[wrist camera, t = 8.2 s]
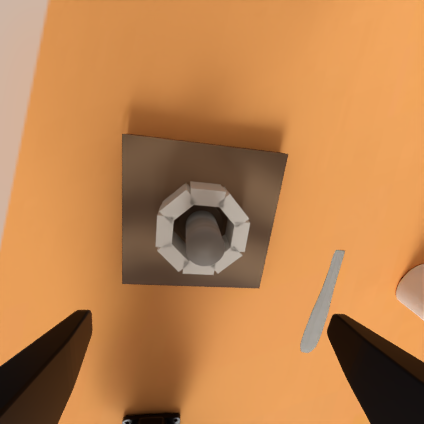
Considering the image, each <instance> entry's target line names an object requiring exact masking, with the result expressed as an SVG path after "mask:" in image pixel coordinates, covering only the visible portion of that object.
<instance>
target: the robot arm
mask: <svg viewBox="0 0 424 424" xmlns="http://www.w3.org/2000/svg"><path fill="white" fill-rule="evenodd" d="M91 335H92V313H91V311H90V310H77V311H75V312H74V313H72V314H71V315H70V316H68V317H67V318H66V319H64V320H63V321H62V322H60V323H59V324H57V325H56V326H55V327H53V328H52V329H51V330H49V331H48V332H47V333H45V334H44V335H42V336H41V337H40V338H38V339H37V340H36V341H34V342H33V343H32V344H30V345H29V346H27V347H26V348H25V349H23V350H22V351H21V352H19V353H18V354H17V355H15V356H14V357H12V358H11V359H10V360H8V361H7V362H6V363H4V364H3V365H2V366H0V424H58V422H59V420H60V417H61V415H62V413H63V411H64V408H65V406H66V404H67V402H68V399H69V397H70V395H71V393H72V390H73V388H74V385H75V382H76V380H77V377H78V374H79V371H80V368H81V365H82V362H83V359H84V356H85V353H86V350H87V347H88V344H89V341H90V338H91ZM327 335H328V338H329V340H330V342H331V345H332V347H333V349H334V351H335V354H336V356H337V358H338V361H339V363H340V365H341V367H342V370H343V372H344V374H345V376H346V378H347V380H348V382H349V384H350V386H351V388H352V390H353V392H354V394H355V396H356V397H357V399H358V401H359V403H360V405H361V407H362V409H363V410H364V412H365V414H366V416H367V418H368V420H369V422H370V423H371V424H424V362H422V361H420V360H419V359H417V358H416V357H414V356H412V355H411V354H409V353H407V352H406V351H404V350H402V349H401V348H399V347H398V346H396V345H394V344H393V343H391V342H389V341H388V340H386V339H384V338H383V337H381V336H379V335H378V334H376V333H375V332H373V331H371V330H370V329H368V328H366V327H365V326H363V325H361V324H360V323H358V322H356V321H355V320H353V319H352V318H350V317H348V316H347V315H345V314H334V315H333V316H332V318H331V321H330V323H329V326H328V329H327ZM122 424H180V415H179V414H156V415H135V416H125V417H124V418H123V422H122Z"/></svg>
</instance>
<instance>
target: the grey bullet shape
mask: <svg viewBox="0 0 424 424" xmlns="http://www.w3.org/2000/svg"><path fill="white" fill-rule="evenodd" d="M396 297H397V299H398V301H400V302H401V303H402V304H404V305H405V306H406V307H407V308H409V309H410V310H411V311H412V312H414V313H415V314H416V315H418V316H419V317H420V318H421V319H422V320H423V321H424V264H421V265H419V266H416V267H415V268H413V269H411V270H410V271H409V272H408V273H407V274H406V275H405V276H404V277H403V278H402V280H401V281H400V282H399V285H398V287H397V290H396Z"/></svg>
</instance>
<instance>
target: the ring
mask: <svg viewBox="0 0 424 424" xmlns="http://www.w3.org/2000/svg"><path fill="white" fill-rule="evenodd" d="M193 205H201V206H212V207H220V208H221V210H222V211H223V212H224V213H225V215H226V216H227V217H228V219H227V226H226V232H225V235H223V236H222V238H223V241H224V244H225V252H224V255H223V256H222V258H221V259H220V260H219V261H218V262H217V263H215V264H213V265H210V266H199V265H196V264H194V263H193V262H191V261H190V260H189V258H188V257H187V254H186V243H185V242H184V241H183V240H182V239H181V238H180V237H179V236H178V235H177V234H176V233H175V232H174V220H175V219H176V218H178V217H179V216H180V215H182V214H183V213H184V212H185V211H187V210H188V209H189V208H190V207H192V206H193ZM248 219H249V218H248V216H247V215H246V214H245V213H244V211H243V210H242V209H241V207H240V206H239V205H238V204H237V202H236V201H235V200H234V198H233V197H232V196H231V195H230V193H229V192H228V191H227V189H226V188H225V187H222V186H221V184H212V183H202V182H193V181H190V186H189V185H188V184H187V183H185V184H184V185H182V186H181V187H180V188H179V189H178V190H176V191H175V192H174V193H173V194H171V195H170V196H169V197H168V198H166V199H165V200H164V201H163V202H162V205H161V206H160V209H159V212H158V215H157V228H156V246H155V247H158V249H157V251H158V252H159V253H160V254H161V255H162V256H163V257H164V258H165V259H166V260H167V261H168V262H169V263H170V264H171V265H172V266H173V267H174V268H175V269H176V270H177V271H178V272H179V271H181V270H182V269H183V274H203V275H214V270H215V271H216V272H217V273H219V272H221V271H222V270H224V269H225V268H226V267H228V266H229V265H230V264H232V263H233V262H234V261H236V260H237V259H239V258H240V257H241V256H242V254H241V252H245V248H246V243H247V237H248V232H249V227H250V222H249V221H248Z"/></svg>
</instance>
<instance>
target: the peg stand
mask: <svg viewBox="0 0 424 424" xmlns="http://www.w3.org/2000/svg"><path fill="white" fill-rule="evenodd" d="M287 157H288V154H285V153H278V152H270V151H262V150H254V149H246V148H238V147H229V146H221V145H213V144H205V143H197V142H189V141H181V140H172V139H164V138H156V137H148V136H140V135H132V134H122V284H141V285H173V286H204V287H235V288H259V287H260V282H261V277H262V273H263V268H264V264H265V259H266V254H267V250H268V245H269V241H270V236H271V231H272V227H273V222H274V217H275V213H276V208H277V204H278V199H279V194H280V190H281V185H282V180H283V176H284V171H285V167H286V162H287ZM190 181H193V182H202V183H212V184H221V186H222V187H225V188H226V189H227V191H228V192H229V193H230V195H231V196H232V197H233V198H234V200H235V201H236V202H237V204H238V205H239V206H240V207H241V209H242V210H243V211H244V213H245V214H246V215H247V216H248V218H249V219H248V221H249V222H250V227H249V232H248V237H247V243H246V248H245V252H241V254H242V256H241V257H240V258H239V259H237V260H236V261H234V262H233V263H232V264H230V265H229V266H228V267H226V268H225V269H224V270H222V271H221V272H219V273H217V272H216V271H215V270H214V275H203V274H183V269H182V270H181V271H179V272H178V271H177V270H176V269H175V268H174V267H173V266H172V265H171V264H170V263H169V262H168V261H167V260H166V259H165V258H164V257H163V256H162V255H161V254H160V253H159V252H158V251H157V249H158V247H155V246H156V228H157V215H158V212H159V209H160V206H161V205H162V202H163V201H164V200H165V199H166V198H168V197H169V196H170V195H171V194H173V193H174V192H175V191H176V190H178V189H179V188H180V187H181V186H182V185H184V184H185V183H187V184H188V185H189V186H190ZM227 219H228V217H227V216H226V215H225V213H224V212H223V211H222V210H221V208H220V207H212V206H201V205H193V206H192V207H190V208H189V209H188V210H187V211H185V212H184V213H183V214H182V215H180V216H179V217H178V218H176V219H175V220H174V232H175V233H176V234H177V235H178V236H179V237H180V238H181V239H182V240H183V241H184V242H185V243H186V254H187V257H188V258H189V260H190V261H191V262H193V263H194V264H196V265H199V266H210V265H213V264H215V263H217V262H218V261H219V260H220V259H221V258H222V256H223V255H224V252H225V244H224V241H223V238H222V236H223V235H225V232H226V226H227Z"/></svg>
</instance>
